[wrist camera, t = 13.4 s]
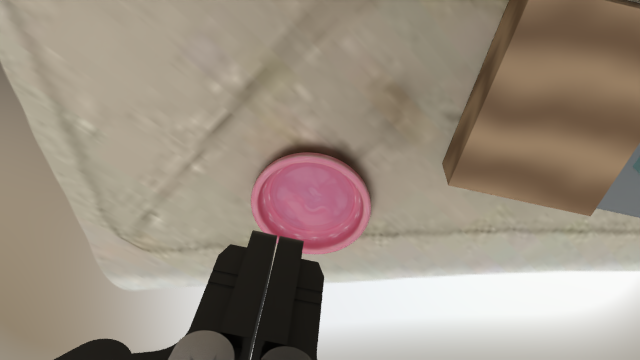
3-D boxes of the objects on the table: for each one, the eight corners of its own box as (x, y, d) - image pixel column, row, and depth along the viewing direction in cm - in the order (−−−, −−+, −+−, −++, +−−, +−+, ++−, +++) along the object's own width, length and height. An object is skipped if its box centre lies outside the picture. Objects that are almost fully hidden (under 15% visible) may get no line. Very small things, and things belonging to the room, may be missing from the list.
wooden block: (519, -26, 37) (535, -17, 33) (685, 14, 37) (717, 27, 34) (442, 163, 46) (448, 185, 43) (574, 192, 47) (590, 216, 44)
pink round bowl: (251, 226, 53) (245, 244, 51) (261, 131, 46) (255, 147, 44) (357, 245, 53) (357, 264, 51) (382, 154, 47) (383, 170, 44)
